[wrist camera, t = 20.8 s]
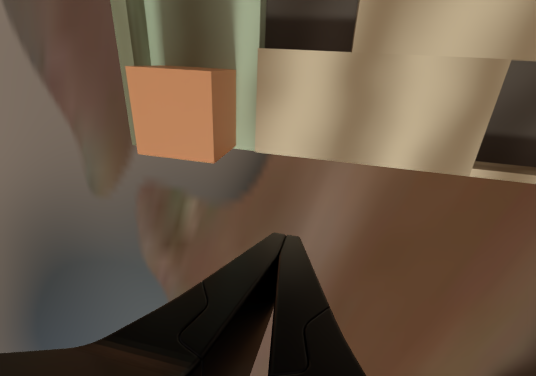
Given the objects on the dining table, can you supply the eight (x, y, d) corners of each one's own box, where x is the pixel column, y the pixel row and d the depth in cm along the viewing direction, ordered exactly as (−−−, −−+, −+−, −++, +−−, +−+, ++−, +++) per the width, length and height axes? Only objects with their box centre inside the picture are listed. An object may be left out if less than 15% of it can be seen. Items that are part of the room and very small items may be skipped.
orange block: (236, 69, 18) (211, 71, 15) (236, 145, 20) (214, 163, 17) (164, 65, 19) (124, 66, 16) (171, 138, 21) (138, 153, 18)
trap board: (848, -100, 12) (1032, -158, 9) (658, 187, 17) (729, 215, 14) (137, -72, 18) (94, -101, 15) (160, 133, 23) (132, 144, 20)
